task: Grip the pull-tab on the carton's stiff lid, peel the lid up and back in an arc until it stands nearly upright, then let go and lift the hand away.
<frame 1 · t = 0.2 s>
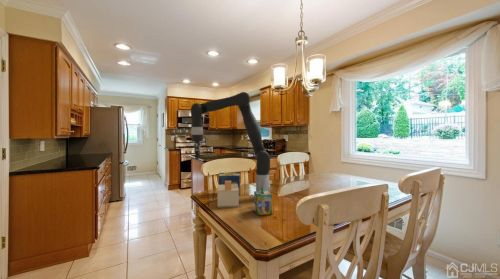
hand: (197, 158, 144), 29 cm above the table, tool pointing down, fingers open, 8 cm apart
protein box: (229, 194, 160), on the table
carton: (228, 203, 140), on the table
carton lid: (228, 183, 139), point 13 cm above the table, hinge at 0.0°
chalk box: (262, 212, 125), on the table
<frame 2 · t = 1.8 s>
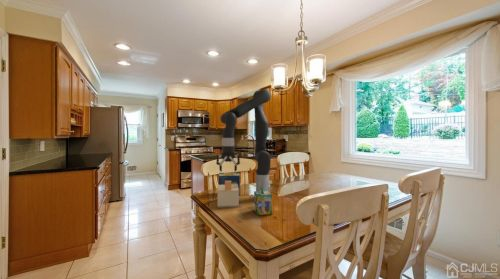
hand: (228, 171, 133), 22 cm above the table, tool pointing down, fingers open, 8 cm apart
nothing on the table moved.
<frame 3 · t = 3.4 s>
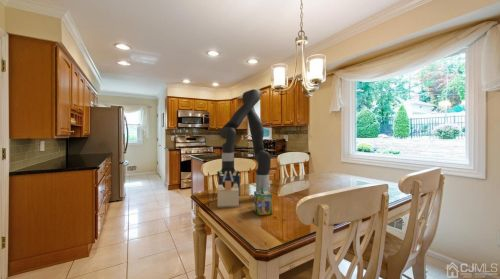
hand: (228, 187, 133), 12 cm above the table, tool pointing down, fingers closed on carton lid, 4 cm apart
carton lid: (228, 183, 139), point 13 cm above the table, hinge at 0.0°, touching gripper
everything else where it was.
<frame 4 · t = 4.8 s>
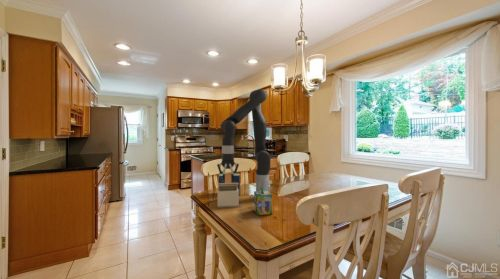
hand: (228, 179, 135), 16 cm above the table, tool pointing down, fingers closed on carton lid, 4 cm apart
carton lid: (228, 179, 140), point 15 cm above the table, hinge at 17.2°, touching gripper
everything else where it was.
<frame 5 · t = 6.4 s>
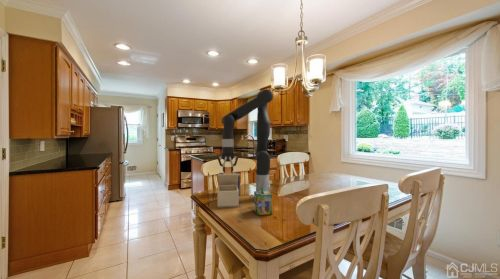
hand: (227, 172, 139), 20 cm above the table, tool pointing down, fingers closed on carton lid, 4 cm apart
carton lid: (227, 176, 143), point 17 cm above the table, hinge at 39.4°, touching gripper
everything else where it was.
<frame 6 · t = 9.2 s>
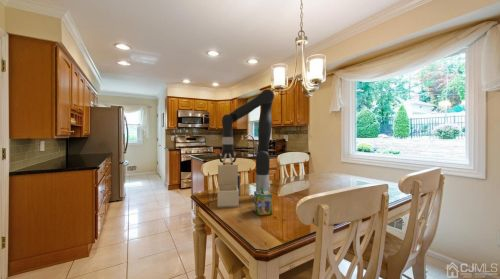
hand: (227, 168, 149), 21 cm above the table, tool pointing down, fingers open, 4 cm apart
carton lid: (227, 173, 148), point 18 cm above the table, hinge at 76.6°
everything else where it was.
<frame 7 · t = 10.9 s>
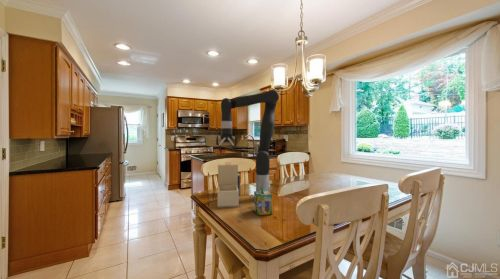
hand: (226, 151, 150), 33 cm above the table, tool pointing down, fingers open, 8 cm apart
nothing on the table moved.
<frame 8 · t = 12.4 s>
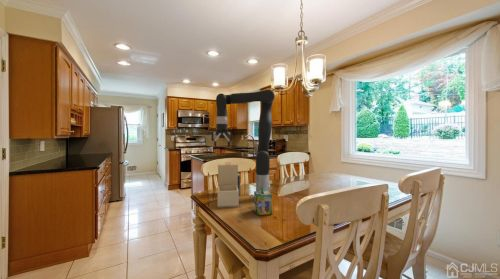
hand: (222, 146, 149), 36 cm above the table, tool pointing down, fingers open, 8 cm apart
nothing on the table moved.
at the end: carton lid at +77° (first picture: +0°); the gripper is holding nothing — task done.
